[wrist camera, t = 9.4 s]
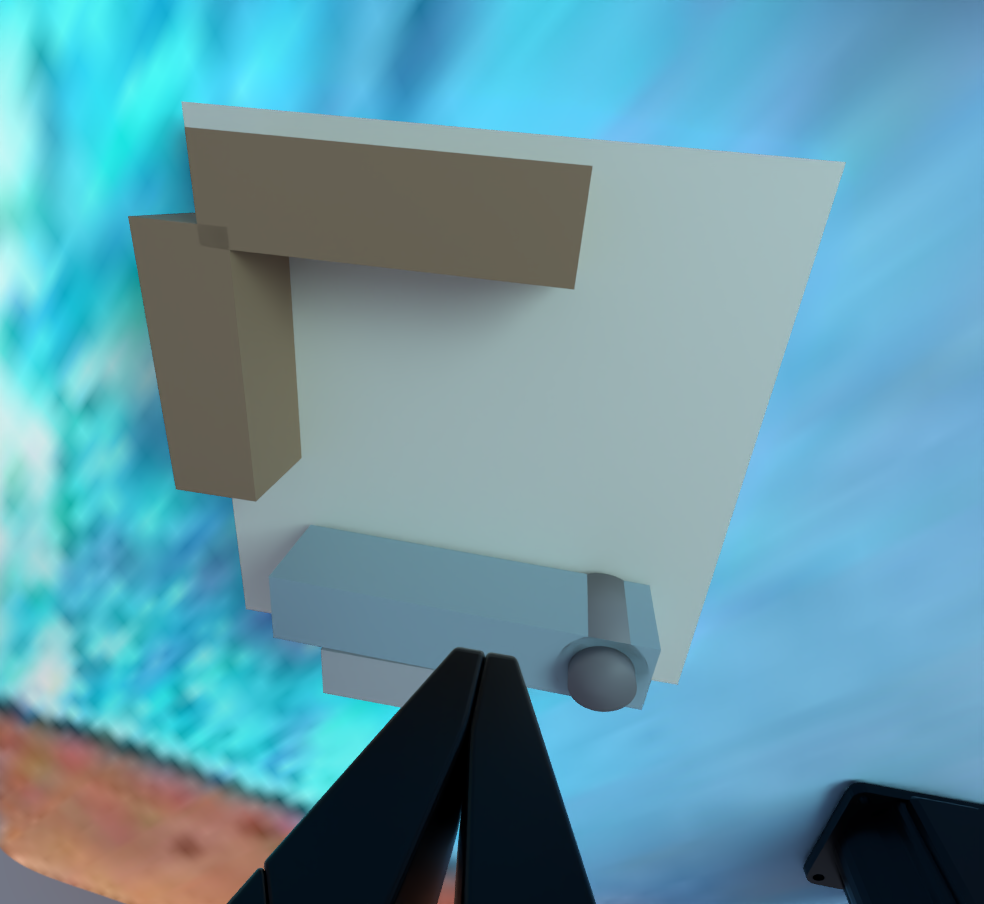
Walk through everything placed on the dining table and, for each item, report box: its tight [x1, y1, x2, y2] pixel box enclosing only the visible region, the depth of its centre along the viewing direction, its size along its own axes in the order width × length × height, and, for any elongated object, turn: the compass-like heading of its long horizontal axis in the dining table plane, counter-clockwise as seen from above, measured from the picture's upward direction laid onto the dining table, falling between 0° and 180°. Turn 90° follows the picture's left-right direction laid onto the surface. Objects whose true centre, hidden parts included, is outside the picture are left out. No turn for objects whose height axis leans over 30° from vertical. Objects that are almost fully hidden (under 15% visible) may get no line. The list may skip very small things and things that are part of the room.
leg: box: [269, 525, 661, 712], centre depth 18 cm, size 12×3×4 cm, turn 83°
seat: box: [128, 102, 846, 707], centre depth 17 cm, size 18×17×4 cm
